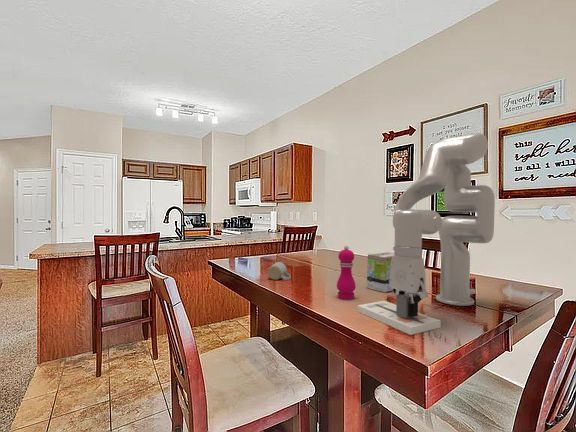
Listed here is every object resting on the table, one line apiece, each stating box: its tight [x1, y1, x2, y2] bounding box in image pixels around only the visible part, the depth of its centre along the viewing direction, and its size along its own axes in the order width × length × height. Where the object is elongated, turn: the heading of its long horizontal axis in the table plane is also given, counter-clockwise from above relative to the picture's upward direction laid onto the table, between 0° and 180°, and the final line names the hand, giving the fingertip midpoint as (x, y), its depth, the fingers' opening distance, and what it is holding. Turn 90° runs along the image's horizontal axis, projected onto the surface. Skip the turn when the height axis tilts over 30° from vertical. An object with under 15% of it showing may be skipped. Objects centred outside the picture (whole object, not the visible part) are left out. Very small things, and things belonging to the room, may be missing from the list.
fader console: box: [356, 300, 441, 336], centre depth 97 cm, size 12×22×2 cm, turn 27°
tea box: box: [366, 251, 395, 293], centre depth 135 cm, size 15×10×15 cm
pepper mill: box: [336, 245, 356, 301], centre depth 120 cm, size 7×7×20 cm
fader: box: [396, 292, 418, 318], centre depth 93 cm, size 5×4×6 cm
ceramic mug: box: [267, 261, 292, 281], centre depth 152 cm, size 11×8×8 cm
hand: (407, 313), depth 93 cm, fingers closed on fader, 3 cm apart
